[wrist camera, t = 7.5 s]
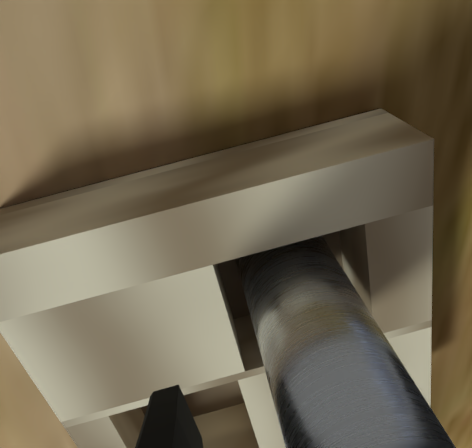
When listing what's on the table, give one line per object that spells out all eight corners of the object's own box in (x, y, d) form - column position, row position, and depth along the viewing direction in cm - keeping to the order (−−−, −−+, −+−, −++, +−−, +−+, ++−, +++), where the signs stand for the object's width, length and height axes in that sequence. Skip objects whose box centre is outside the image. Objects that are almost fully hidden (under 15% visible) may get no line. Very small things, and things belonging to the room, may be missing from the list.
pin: (319, 205, 14) (472, 422, 7) (327, 278, 16) (460, 517, 9) (228, 227, 14) (294, 470, 7) (245, 299, 15) (313, 557, 9)
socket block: (381, 108, 13) (434, 138, 11) (393, 372, 19) (429, 432, 17) (-4, 209, 13) (-45, 266, 11) (130, 445, 19) (125, 518, 17)
